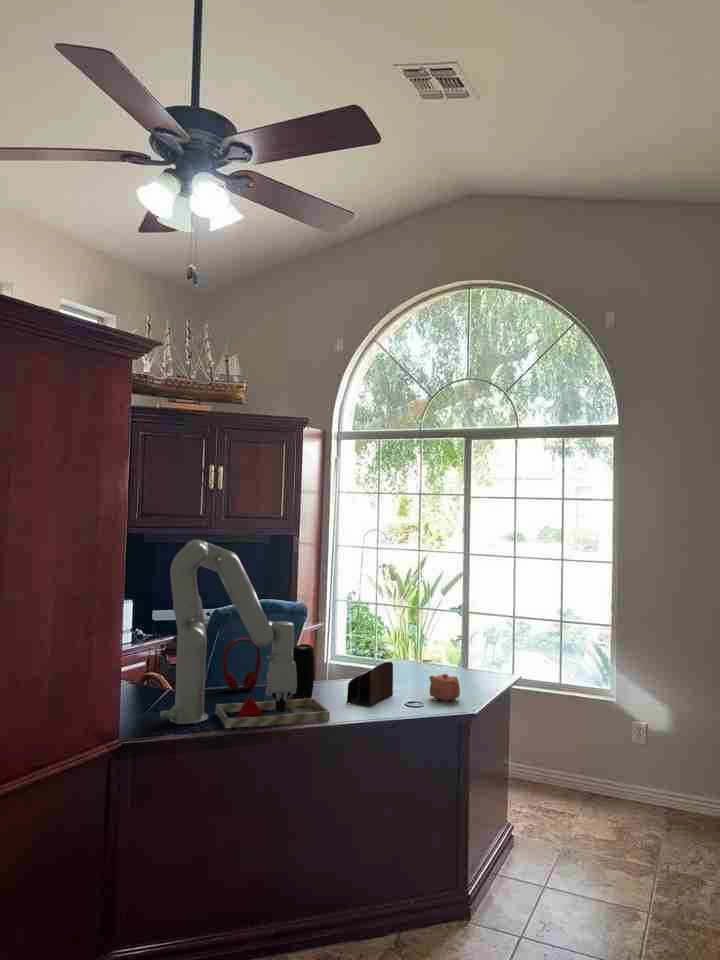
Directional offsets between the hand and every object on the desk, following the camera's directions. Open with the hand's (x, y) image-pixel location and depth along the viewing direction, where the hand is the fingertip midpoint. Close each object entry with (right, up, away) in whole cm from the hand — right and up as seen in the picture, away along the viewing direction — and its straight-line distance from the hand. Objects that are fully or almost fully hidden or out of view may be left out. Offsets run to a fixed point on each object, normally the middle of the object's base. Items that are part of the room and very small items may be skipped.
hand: (280, 711), depth 256 cm
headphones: (-19, -2, +33) cm, 38 cm away
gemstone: (-10, -2, -7) cm, 12 cm away
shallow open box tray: (-3, -2, -1) cm, 3 cm away
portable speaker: (+5, -3, +25) cm, 25 cm away
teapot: (+59, -5, +29) cm, 66 cm away
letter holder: (+31, -4, +26) cm, 41 cm away
